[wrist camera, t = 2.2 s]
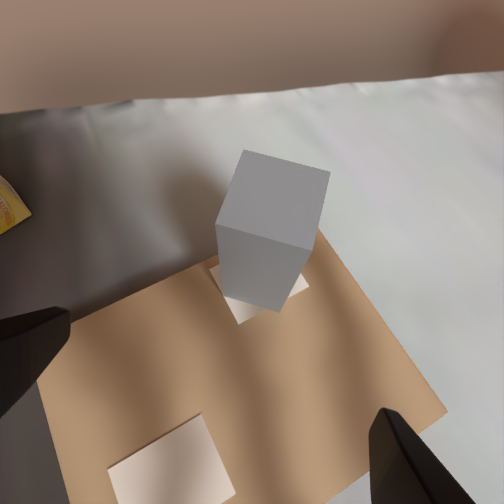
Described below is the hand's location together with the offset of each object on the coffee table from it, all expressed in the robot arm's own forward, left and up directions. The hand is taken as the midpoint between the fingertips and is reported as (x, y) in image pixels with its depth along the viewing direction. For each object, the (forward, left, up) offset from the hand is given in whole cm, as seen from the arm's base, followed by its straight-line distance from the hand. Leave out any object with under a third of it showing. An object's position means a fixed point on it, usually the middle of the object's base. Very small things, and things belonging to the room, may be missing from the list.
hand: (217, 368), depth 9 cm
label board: (+1, 0, -13) cm, 13 cm away
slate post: (+5, +5, -12) cm, 14 cm away
